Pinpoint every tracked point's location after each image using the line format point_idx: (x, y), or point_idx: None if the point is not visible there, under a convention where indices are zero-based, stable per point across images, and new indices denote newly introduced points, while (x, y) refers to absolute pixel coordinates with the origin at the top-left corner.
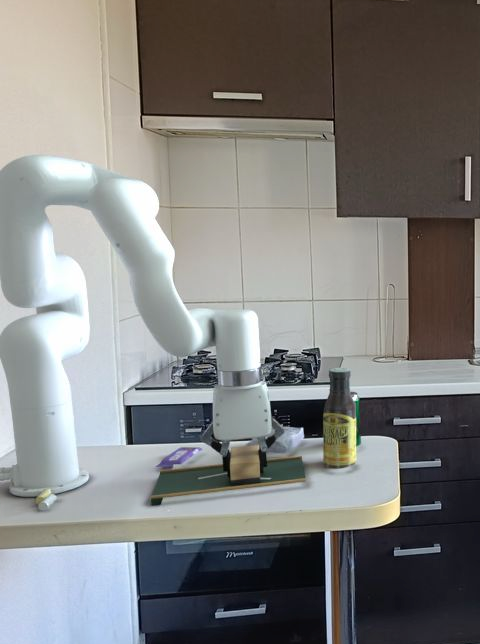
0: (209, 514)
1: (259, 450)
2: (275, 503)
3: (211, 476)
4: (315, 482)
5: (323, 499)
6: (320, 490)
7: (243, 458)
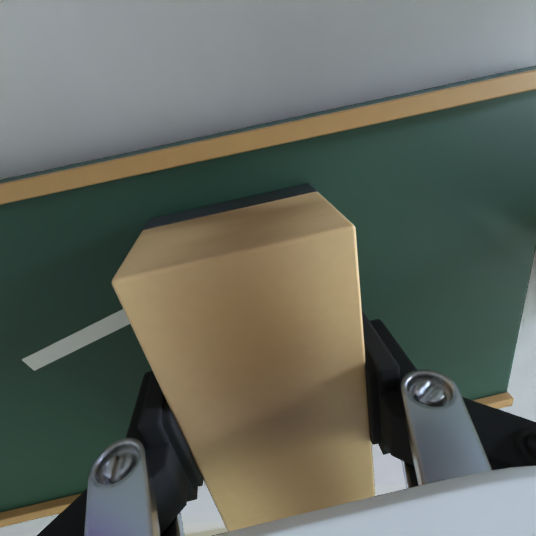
0: (212, 528)
1: (377, 396)
2: (383, 474)
3: (87, 345)
4: (526, 338)
5: None
6: (521, 400)
7: (286, 482)
